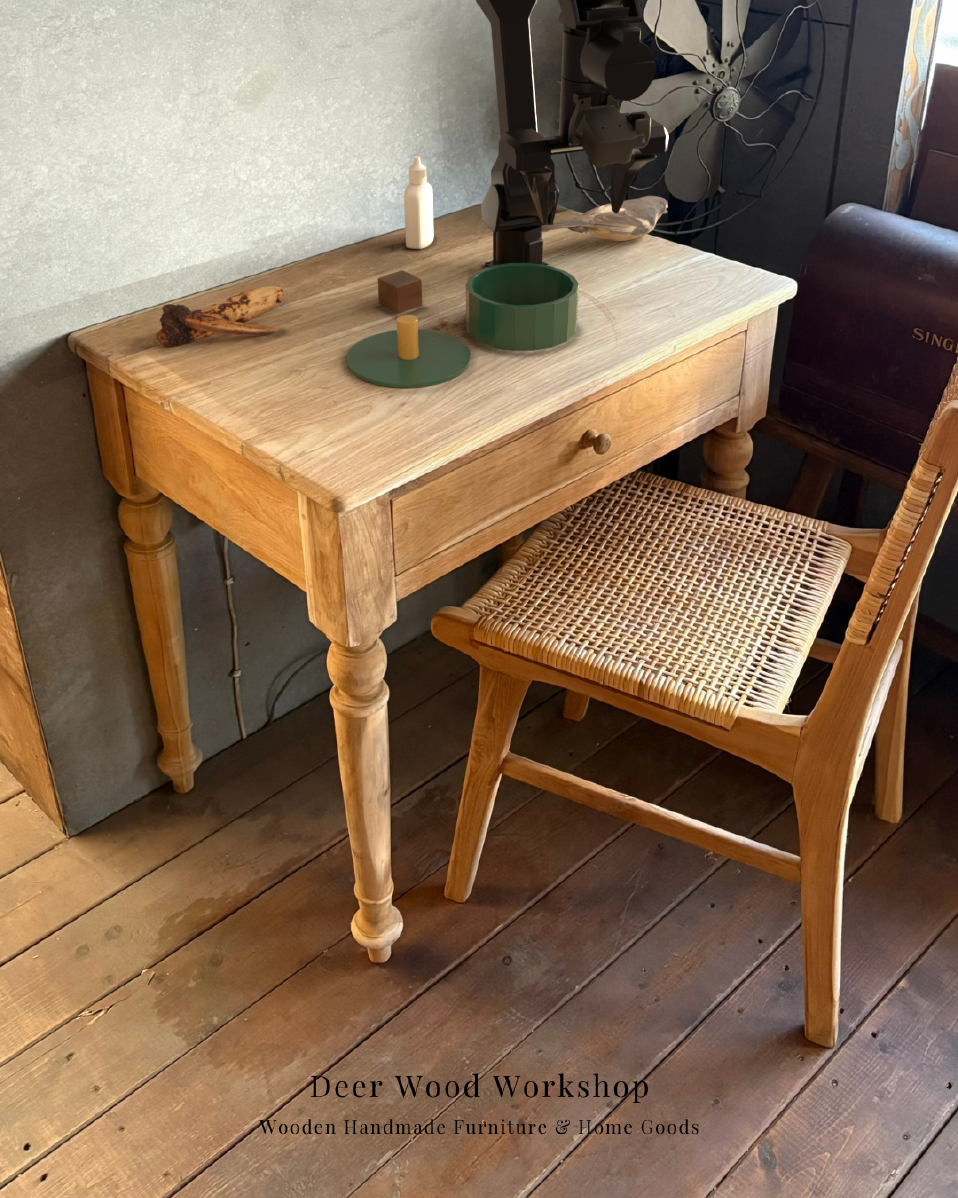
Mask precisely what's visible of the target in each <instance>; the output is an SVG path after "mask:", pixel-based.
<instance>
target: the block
mask: <svg viewBox="0 0 958 1198" xmlns="http://www.w3.org/2000/svg"><path fill="white" fill-rule="evenodd" d="M377 296H378V305H379V306H381V307H384V308H386V309H387V310H389V311H391V312H393V313H395V314H402V313H405V312H407V311H410V310H413V309H416V308H419V307H422V306H423V304H424V303H423V279H422V278H420V277H418V276H416V275H414V274H411V273H409V272H407V271H405V270H403V269H402V270H398V271H395V272H392V273H389V274H385V275H383V276H379V277H377Z"/></svg>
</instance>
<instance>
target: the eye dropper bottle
mask: <svg viewBox="0 0 958 1198" xmlns="http://www.w3.org/2000/svg"><path fill="white" fill-rule="evenodd" d="M427 179H428V178H427V166H425V165H424V164H422V162H421V157H420V156H419V155H417V156H416V155H415V156H414V159H413V164H411V165H409V166H408V182H409V183H408V184H407V186H406V188H405V190H404V194H403V199H404V200H403V201H404V202H403V203H404V204H403V205H404V206H403V207H404V231H405V246H406V248H408V249H412V250H413V249H414V250H422V249H425V248H427V247H428V246H430V245H431V244H432V243H433V241H434V235H435V233H434V205H433V204H434V199H433V196H434V195H433V187H432V184H430V183H429V182H428V180H427Z"/></svg>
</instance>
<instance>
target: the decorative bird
mask: <svg viewBox="0 0 958 1198" xmlns="http://www.w3.org/2000/svg"><path fill="white" fill-rule="evenodd" d="M668 207H669V206H668V200H666V199H665V198H663V197H660V196H656V195H647V196H642V197H639V198H635V199H625V200H624V202H623V204H622V206H621V209H620V211H619V213H616V214H615V213H614V212H612V207H611V202H609V203H606V204H603V205H599V206H596V207H594V208H592V209H590V210H587V211H586V212H584V213H582V214H581V215H579V216H577V217H574V218H572V219H567V220H561V221H554V222H553V225H542V233H548V232H550V231H554V230H560V229H568V230H570V231H572V232H576V233H579V234H583V233H584V234H585V235H586V234H588V233H589V234H590V235H592V236H593V237H595V238H599V239H605V240H609V241H614V242H615V241H616V242H617V241H618V242H625V241H626V242H627V241H631V240H634V239H638V238H640V237H641V238H642V237H643V236H646V235H648V234H649V233H651V232H652V231H654V229H655V227H656V225H657V222H658V221H659V220H660V219H661V216H662V215H663V214H667V213H668V210H667V208H668Z"/></svg>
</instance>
